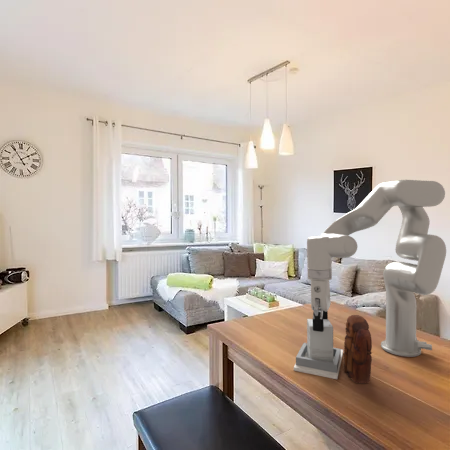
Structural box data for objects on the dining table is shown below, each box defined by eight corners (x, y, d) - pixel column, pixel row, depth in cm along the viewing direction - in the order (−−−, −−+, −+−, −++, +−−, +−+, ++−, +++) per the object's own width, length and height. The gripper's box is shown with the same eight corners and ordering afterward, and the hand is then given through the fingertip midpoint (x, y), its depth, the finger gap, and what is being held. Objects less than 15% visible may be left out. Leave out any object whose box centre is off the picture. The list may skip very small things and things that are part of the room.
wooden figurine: (339, 365, 101) (339, 310, 101) (359, 365, 101) (359, 310, 100) (353, 385, 89) (353, 323, 89) (375, 385, 89) (376, 323, 89)
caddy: (343, 352, 111) (343, 342, 111) (337, 379, 93) (337, 367, 92) (306, 346, 116) (306, 336, 116) (293, 370, 98) (293, 359, 98)
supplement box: (329, 355, 106) (329, 318, 105) (333, 366, 98) (333, 326, 98) (306, 354, 107) (306, 318, 106) (309, 365, 99) (309, 325, 99)
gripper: (328, 280, 92) (329, 337, 93) (334, 269, 108) (335, 318, 109) (302, 278, 95) (303, 333, 96) (312, 268, 111) (313, 316, 112)
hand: (320, 325), depth 102 cm, fingers open, 9 cm apart
